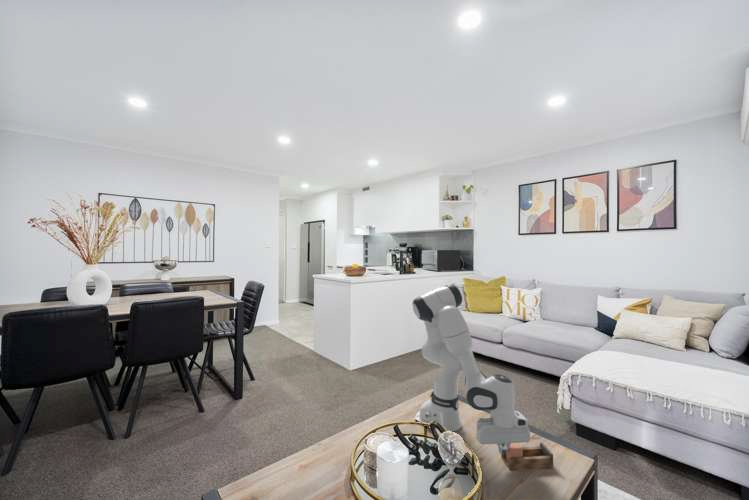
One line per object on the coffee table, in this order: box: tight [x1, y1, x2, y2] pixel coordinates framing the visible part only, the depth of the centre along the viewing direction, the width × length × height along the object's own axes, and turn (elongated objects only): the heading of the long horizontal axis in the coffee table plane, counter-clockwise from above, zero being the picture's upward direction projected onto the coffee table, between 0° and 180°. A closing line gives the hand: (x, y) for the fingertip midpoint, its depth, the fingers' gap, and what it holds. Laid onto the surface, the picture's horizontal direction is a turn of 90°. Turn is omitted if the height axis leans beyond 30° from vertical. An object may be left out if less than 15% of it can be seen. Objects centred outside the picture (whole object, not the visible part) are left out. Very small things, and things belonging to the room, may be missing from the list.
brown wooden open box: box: [501, 442, 554, 472], centre depth 121 cm, size 17×7×5 cm, turn 93°
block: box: [506, 443, 523, 461], centre depth 120 cm, size 5×3×6 cm
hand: (503, 452), depth 120 cm, fingers closed
